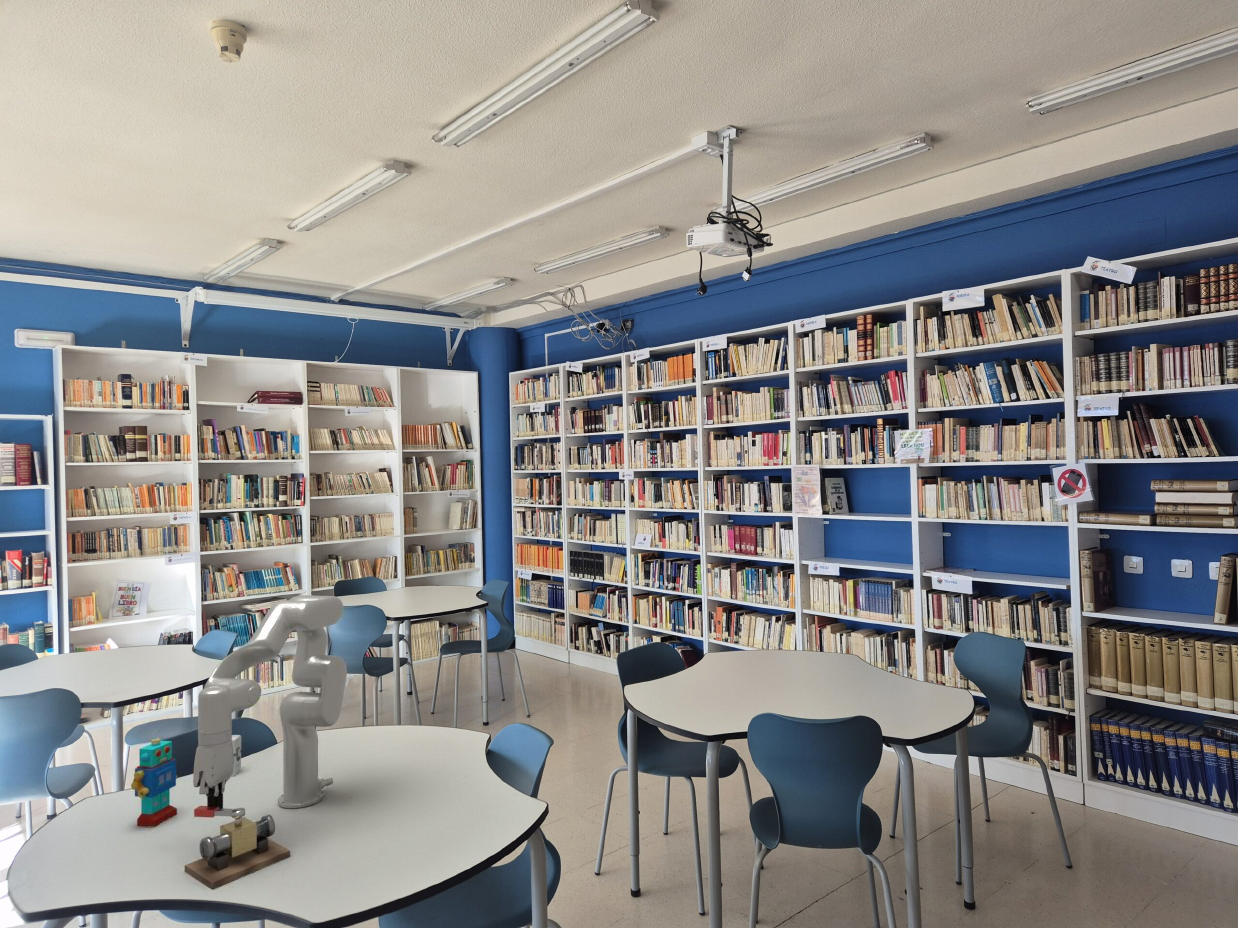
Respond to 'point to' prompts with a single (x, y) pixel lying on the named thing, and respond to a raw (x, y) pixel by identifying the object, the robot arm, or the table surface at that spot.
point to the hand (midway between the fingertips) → (215, 810)
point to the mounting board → (236, 865)
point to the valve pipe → (237, 840)
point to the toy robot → (155, 782)
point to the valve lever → (218, 812)
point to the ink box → (236, 753)
